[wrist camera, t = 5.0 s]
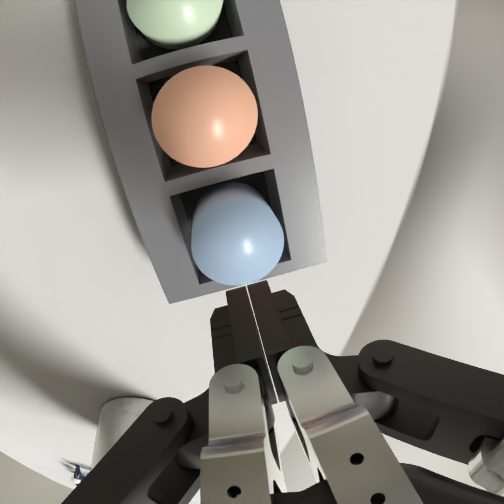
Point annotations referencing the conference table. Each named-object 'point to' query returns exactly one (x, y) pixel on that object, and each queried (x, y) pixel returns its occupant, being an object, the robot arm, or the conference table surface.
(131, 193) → the tray
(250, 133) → the orange button
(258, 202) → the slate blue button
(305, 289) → the conference table surface
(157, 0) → the sage button
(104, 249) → the conference table surface
